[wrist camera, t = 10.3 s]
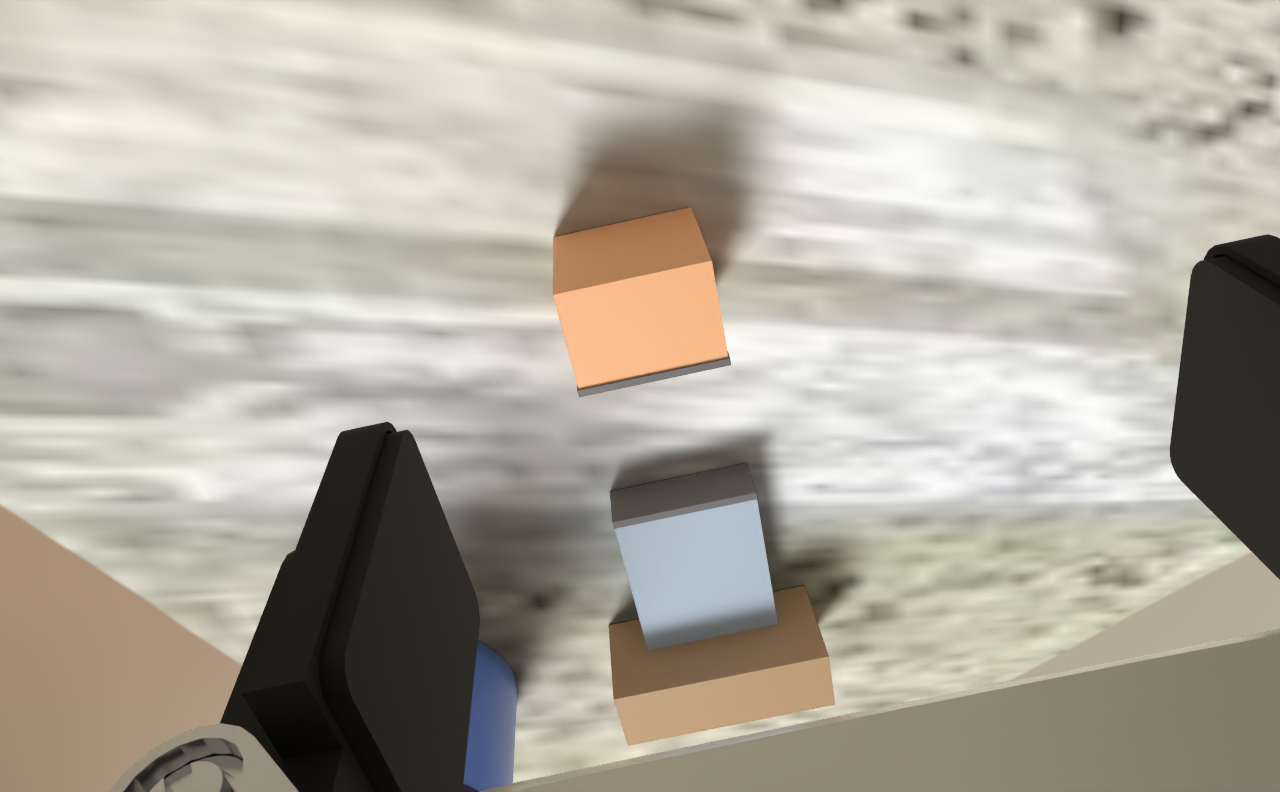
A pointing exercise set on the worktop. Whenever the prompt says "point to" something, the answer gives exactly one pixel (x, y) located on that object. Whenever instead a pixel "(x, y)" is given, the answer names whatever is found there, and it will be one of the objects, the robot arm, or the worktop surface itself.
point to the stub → (638, 302)
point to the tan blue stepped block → (707, 613)
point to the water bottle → (491, 723)
